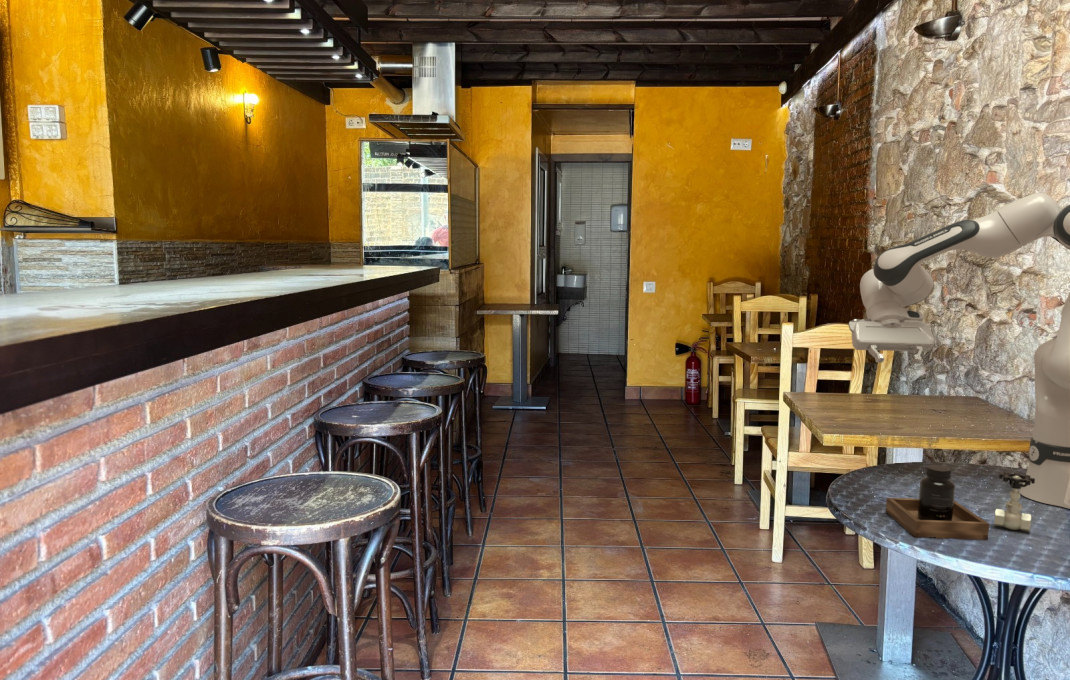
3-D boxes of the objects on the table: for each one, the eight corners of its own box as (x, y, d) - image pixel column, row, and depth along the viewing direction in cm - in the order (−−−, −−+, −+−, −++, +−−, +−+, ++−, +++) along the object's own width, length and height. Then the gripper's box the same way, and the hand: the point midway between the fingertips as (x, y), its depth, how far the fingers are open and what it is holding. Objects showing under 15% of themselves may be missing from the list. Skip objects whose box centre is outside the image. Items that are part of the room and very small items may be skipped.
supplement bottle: (912, 514, 172) (917, 462, 170) (944, 516, 171) (949, 464, 169) (923, 525, 165) (928, 471, 164) (957, 527, 164) (962, 473, 163)
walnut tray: (952, 514, 175) (953, 499, 174) (987, 539, 160) (989, 523, 160) (885, 512, 176) (886, 497, 175) (914, 537, 161) (916, 521, 160)
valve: (1029, 537, 162) (1035, 482, 161) (993, 530, 166) (998, 477, 164) (1029, 527, 168) (1034, 474, 166) (994, 521, 171) (999, 469, 170)
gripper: (850, 311, 203) (861, 353, 195) (929, 313, 202) (943, 355, 194) (843, 326, 208) (854, 367, 200) (919, 328, 207) (933, 369, 199)
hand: (898, 361), depth 197 cm, fingers open, 8 cm apart
